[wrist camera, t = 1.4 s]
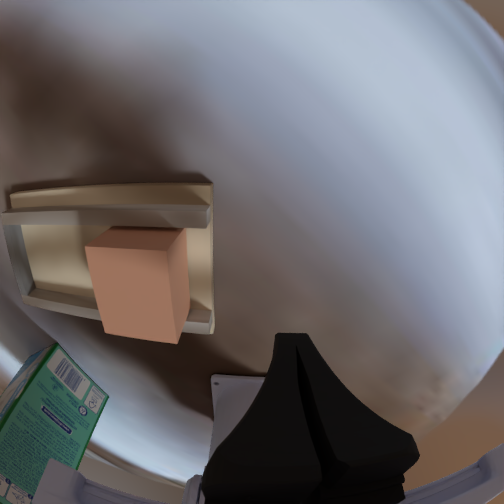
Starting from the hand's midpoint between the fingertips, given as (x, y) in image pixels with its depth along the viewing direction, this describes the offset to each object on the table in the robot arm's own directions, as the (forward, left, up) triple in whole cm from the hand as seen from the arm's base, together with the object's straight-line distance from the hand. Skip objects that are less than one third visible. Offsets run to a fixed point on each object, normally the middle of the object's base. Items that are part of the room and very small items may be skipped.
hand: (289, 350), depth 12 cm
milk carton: (-17, +24, -9) cm, 31 cm away
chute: (0, +14, -8) cm, 16 cm away
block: (0, +9, -7) cm, 11 cm away
